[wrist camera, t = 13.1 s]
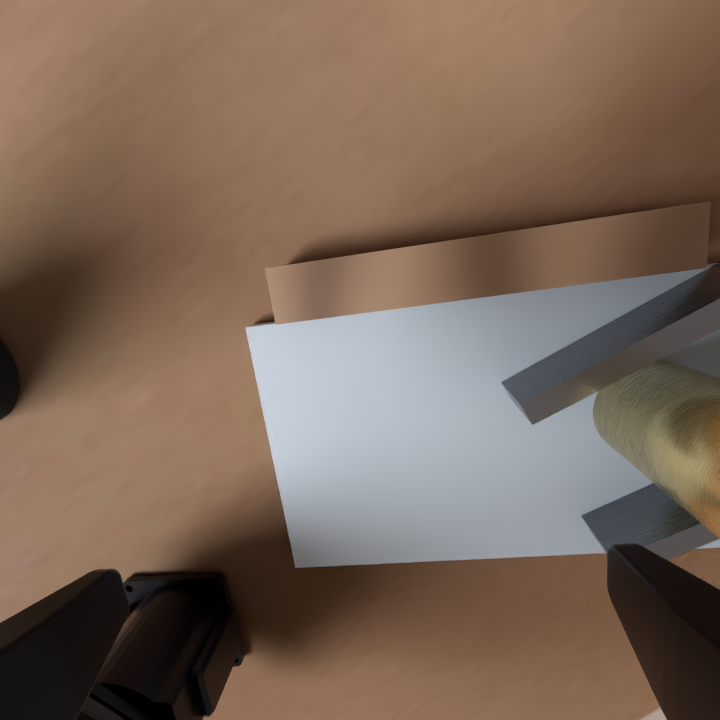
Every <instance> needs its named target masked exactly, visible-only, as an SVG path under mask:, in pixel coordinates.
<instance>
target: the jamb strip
mask: <svg viewBox="0 0 720 720" xmlns="http://www.w3.org/2000/svg"><path fill="white" fill-rule="evenodd" d="M710 206H711V201H707V202H701V203H694V204H687V205H681V206H674V207H668V208H661V209H654V210H648V211H641V212H635V213H628V214H621V215H615V216H608V217H601V218H595V219H588V220H582V221H575V222H568V223H562V224H555V225H548V226H542V227H535V228H529V229H522V230H515V231H509V232H502V233H496V234H489V235H482V236H476V237H469V238H462V239H456V240H449V241H443V242H436V243H429V244H423V245H416V246H409V247H403V248H396V249H390V250H383V251H376V252H370V253H363V254H357V255H350V256H343V257H337V258H330V259H323V260H317V261H310V262H304V263H297V264H290V265H284V266H277V267H270V268H265V272H266V277H267V282H268V288H269V293H270V298H271V303H272V309H273V314H274V319H275V324H276V325H277V324H285V323H293V322H300V321H308V320H316V319H323V318H331V317H338V316H346V315H354V314H361V313H369V312H376V311H384V310H392V309H399V308H407V307H415V306H422V305H430V304H437V303H445V302H453V301H460V300H468V299H475V298H483V297H491V296H498V295H506V294H514V293H521V292H529V291H536V290H544V289H552V288H559V287H567V286H575V285H582V284H590V283H597V282H605V281H613V280H620V279H628V278H635V277H643V276H651V275H658V274H666V273H674V272H681V271H689V270H696V269H704V268H707V263H708V244H709V225H710Z"/></svg>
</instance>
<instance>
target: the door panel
mask: <svg viewBox="0 0 720 720" xmlns="http://www.w3.org/2000/svg"><path fill="white" fill-rule="evenodd" d="M715 264H717V263H713V264H707V268H709V267H711V266H713V265H715ZM707 268H704V269H696V270H689V271H681V272H674V273H666V274H658V275H651V276H643V277H635V278H628V279H620V280H613V281H605V282H597V283H590V284H582V285H575V286H567V287H559V288H552V289H544V290H536V291H529V292H521V293H514V294H506V295H498V296H491V297H483V298H475V299H468V300H460V301H453V302H445V303H437V304H430V305H422V306H415V307H407V308H399V309H392V310H384V311H376V312H369V313H361V314H354V315H346V316H338V317H331V318H323V319H316V320H308V321H300V322H293V323H285V324H277V325H276V324H275V322H267V323H260V324H253V325H250V326H248V327H245V328H246V333H247V337H248V342H249V347H250V352H251V357H252V361H253V366H254V371H255V376H256V381H257V385H258V390H259V395H260V400H261V405H262V409H263V414H264V419H265V424H266V429H267V433H268V438H269V443H270V448H271V453H272V458H273V462H274V467H275V472H276V477H277V482H278V486H279V491H280V496H281V501H282V506H283V510H284V515H285V520H286V525H287V530H288V534H289V539H290V544H291V549H292V554H293V559H294V563H295V568H304V567H325V566H346V565H367V564H388V563H408V562H429V561H450V560H471V559H492V558H513V557H533V556H554V555H575V554H596V553H606V552H605V551H604V549H603V548H602V547H601V545H600V544H599V542H598V541H597V540H596V538H595V537H594V535H593V534H592V533H591V531H590V530H589V528H588V526H587V525H586V523H585V521H584V520H583V518H582V516H581V515H583V514H585V513H588V512H590V511H592V510H594V509H597V508H599V507H601V506H603V505H605V504H608V503H610V502H612V501H614V500H617V499H619V498H621V497H623V496H625V495H628V494H630V493H632V492H634V491H637V490H639V489H641V488H643V487H645V486H648V485H650V484H652V483H653V482H652V481H651V480H649V479H648V478H647V477H646V476H645V475H644V474H642V473H641V472H640V471H639V470H638V469H636V468H635V467H634V466H633V465H632V464H631V463H629V462H628V461H627V460H626V459H625V458H623V457H622V456H621V455H620V454H619V453H618V452H616V451H615V450H614V449H613V448H612V447H610V446H609V445H608V444H607V443H606V442H605V441H604V440H603V439H602V438H601V436H600V435H599V433H598V432H597V429H596V427H595V424H594V420H593V406H594V401H595V398H596V396H597V393H598V392H596V393H594V394H592V395H590V396H588V397H586V398H584V399H582V400H580V401H579V402H577V403H575V404H573V405H571V406H569V407H567V408H565V409H563V410H561V411H559V412H557V413H555V414H553V415H551V416H549V417H547V418H546V419H544V420H542V421H540V422H538V423H536V424H534V425H532V424H531V423H530V422H529V420H528V419H527V418H526V417H525V416H524V414H523V413H522V412H521V411H520V410H519V408H518V407H517V406H516V405H515V403H514V402H513V401H512V400H511V398H510V397H509V395H508V393H507V392H506V390H505V388H504V387H503V385H502V383H501V382H502V381H504V380H506V379H508V378H509V377H511V376H513V375H515V374H517V373H518V372H520V371H522V370H524V369H526V368H528V367H529V366H531V365H533V364H535V363H537V362H538V361H540V360H542V359H544V358H546V357H548V356H549V355H551V354H553V353H555V352H557V351H558V350H560V349H562V348H564V347H566V346H568V345H569V344H571V343H573V342H575V341H577V340H578V339H580V338H582V337H584V336H586V335H588V334H589V333H591V332H593V331H595V330H597V329H598V328H600V327H602V326H604V325H606V324H608V323H609V322H611V321H613V320H615V319H617V318H618V317H620V316H622V315H624V314H626V313H628V312H629V311H631V310H633V309H635V308H637V307H638V306H640V305H642V304H644V303H646V302H648V301H649V300H651V299H653V298H655V297H657V296H658V295H660V294H662V293H664V292H666V291H668V290H669V289H671V288H673V287H675V286H677V285H678V284H680V283H682V282H684V281H686V280H687V279H689V278H691V277H693V276H695V275H697V274H698V273H700V272H702V271H704V270H706V269H707ZM661 360H667V361H671V362H674V363H677V364H680V365H683V366H686V367H689V368H692V369H695V370H698V371H701V372H704V373H707V374H710V375H712V376H715V377H718V378H720V329H718V330H716V331H714V332H712V333H710V334H709V335H707V336H705V337H703V338H701V339H699V340H697V341H695V342H693V343H691V344H689V345H687V346H685V347H683V348H681V349H679V350H677V351H676V352H674V353H672V354H670V355H668V356H666V357H664V358H662V359H661ZM700 548H720V539H718V540H716V541H713V542H711V543H708V544H706V545H703V546H701V547H698V548H696V549H700Z"/></svg>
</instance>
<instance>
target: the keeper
mask: <svg viewBox="0 0 720 720" xmlns="http://www.w3.org/2000/svg"><path fill="white" fill-rule="evenodd" d="M718 329H720V262H718V263H717V264H715V265H713V266H711V267H709V268H707V269H706V270H704V271H702V272H700V273H698V274H697V275H695V276H693V277H691V278H689V279H687V280H686V281H684V282H682V283H680V284H678V285H677V286H675V287H673V288H671V289H669V290H668V291H666V292H664V293H662V294H660V295H658V296H657V297H655V298H653V299H651V300H649V301H648V302H646V303H644V304H642V305H640V306H638V307H637V308H635V309H633V310H631V311H629V312H628V313H626V314H624V315H622V316H620V317H618V318H617V319H615V320H613V321H611V322H609V323H608V324H606V325H604V326H602V327H600V328H598V329H597V330H595V331H593V332H591V333H589V334H588V335H586V336H584V337H582V338H580V339H578V340H577V341H575V342H573V343H571V344H569V345H568V346H566V347H564V348H562V349H560V350H558V351H557V352H555V353H553V354H551V355H549V356H548V357H546V358H544V359H542V360H540V361H538V362H537V363H535V364H533V365H531V366H529V367H528V368H526V369H524V370H522V371H520V372H518V373H517V374H515V375H513V376H511V377H509V378H508V379H506V380H504V381H502V382H501V383H502V385H503V387H504V388H505V390H506V392H507V393H508V395H509V397H510V398H511V400H512V401H513V402H514V403H515V405H516V406H517V407H518V408H519V410H520V411H521V412H522V413H523V414H524V416H525V417H526V418H527V419H528V420H529V422H530V423H531V424H532V425H534V424H536V423H538V422H540V421H542V420H544V419H546V418H547V417H549V416H551V415H553V414H555V413H557V412H559V411H561V410H563V409H565V408H567V407H569V406H571V405H573V404H575V403H577V402H579V401H580V400H582V399H584V398H586V397H588V396H590V395H592V394H594V393H596V392H598V391H600V390H602V389H604V388H606V387H608V386H610V385H612V384H613V383H615V382H617V381H619V380H621V379H623V378H625V377H627V376H629V375H631V374H633V373H635V372H637V371H639V370H641V369H643V368H645V367H646V366H648V365H650V364H652V363H654V362H656V361H658V360H660V359H662V358H664V357H666V356H668V355H670V354H672V353H674V352H676V351H677V350H679V349H681V348H683V347H685V346H687V345H689V344H691V343H693V342H695V341H697V340H699V339H701V338H703V337H705V336H707V335H709V334H710V333H712V332H714V331H716V330H718ZM581 516H582V518H583V520H584V521H585V523H586V525H587V526H588V528H589V530H590V531H591V533H592V534H593V535H594V537H595V538H596V540H597V541H598V542H599V544H600V545H601V547H602V548H603V549H604V551H605V552H606V554H607V551H608V547H609V546H610V545H611V544H617V543H637V544H639V545H641V546H643V547H645V548H647V549H648V550H650V551H652V552H654V553H655V554H657V555H659V556H661V557H663V558H664V559H666V560H669V559H671V558H674V557H676V556H679V555H681V554H684V553H686V552H689V551H691V550H693V549H696V548H698V547H701V546H703V545H706V544H708V543H711V542H713V541H716V540H718V539H719V538H718V537H717V536H716V535H715V534H713V533H712V532H711V531H710V530H709V529H707V528H706V527H705V526H704V525H703V524H702V523H700V522H699V521H698V520H697V519H696V518H694V517H693V516H692V515H691V514H690V513H689V512H687V511H686V510H685V509H684V508H683V507H681V506H680V505H679V504H678V503H677V502H676V501H674V500H673V499H672V498H671V497H670V496H668V495H667V494H666V493H665V492H664V491H663V490H661V489H660V488H659V487H658V486H657V485H655V484H654V483H652V484H650V485H648V486H645V487H643V488H641V489H639V490H637V491H634V492H632V493H630V494H628V495H625V496H623V497H621V498H619V499H617V500H614V501H612V502H610V503H608V504H605V505H603V506H601V507H599V508H597V509H594V510H592V511H590V512H588V513H585V514H583V515H581Z"/></svg>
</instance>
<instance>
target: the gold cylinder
mask: <svg viewBox="0 0 720 720" xmlns="http://www.w3.org/2000/svg"><path fill="white" fill-rule="evenodd" d="M593 420H594V424H595V427H596V429H597V432H598V433H599V435H600V436H601V438H602V439H603V440H604V441H605V442H606V443H607V444H608V445H609V446H610V447H612V448H613V449H614V450H615V451H616V452H618V453H619V454H620V455H621V456H622V457H623V458H625V459H626V460H627V461H628V462H629V463H631V464H632V465H633V466H634V467H635V468H636V469H638V470H639V471H640V472H641V473H642V474H644V475H645V476H646V477H647V478H648V479H649V480H651V481H652V482H653V483H654V484H655V485H657V486H658V487H659V488H660V489H661V490H663V491H664V492H665V493H666V494H667V495H668V496H670V497H671V498H672V499H673V500H674V501H676V502H677V503H678V504H679V505H680V506H681V507H683V508H684V509H685V510H686V511H687V512H689V513H690V514H691V515H692V516H693V517H694V518H696V519H697V520H698V521H699V522H700V523H702V524H703V525H704V526H705V527H706V528H707V529H709V530H710V531H711V532H712V533H713V534H715V535H716V536H717V537H718V538H719V539H720V378H718V377H715V376H712V375H710V374H707V373H704V372H701V371H698V370H695V369H692V368H689V367H686V366H683V365H680V364H677V363H674V362H671V361H667V360H661V359H660V360H658V361H656V362H654V363H652V364H650V365H648V366H646V367H645V368H643V369H641V370H639V371H637V372H635V373H633V374H631V375H629V376H627V377H625V378H623V379H621V380H619V381H617V382H615V383H613V384H612V385H610V386H608V387H606V388H604V389H602V390H600V391H598V393H597V396H596V398H595V401H594V406H593Z"/></svg>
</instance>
